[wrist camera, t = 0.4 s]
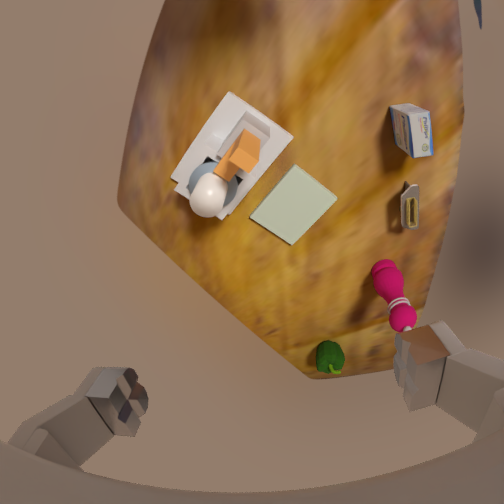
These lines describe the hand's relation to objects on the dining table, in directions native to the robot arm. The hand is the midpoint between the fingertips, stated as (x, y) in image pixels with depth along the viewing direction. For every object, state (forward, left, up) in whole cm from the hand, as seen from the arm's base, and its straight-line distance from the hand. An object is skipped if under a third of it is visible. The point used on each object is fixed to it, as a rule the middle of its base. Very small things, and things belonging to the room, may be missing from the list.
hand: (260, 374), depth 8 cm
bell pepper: (+41, +54, -50) cm, 84 cm away
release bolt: (+8, 0, -40) cm, 41 cm away
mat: (+13, +16, -50) cm, 54 cm away
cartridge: (+15, 0, -49) cm, 51 cm away
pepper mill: (+12, +44, -50) cm, 68 cm away
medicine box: (-14, +21, -50) cm, 56 cm away
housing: (+12, 0, -50) cm, 51 cm away
